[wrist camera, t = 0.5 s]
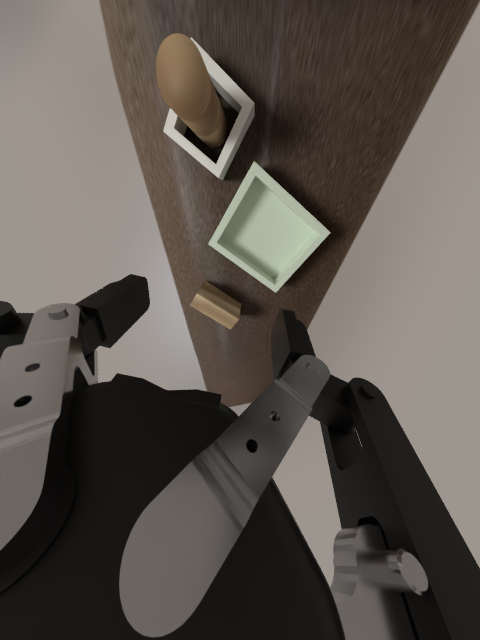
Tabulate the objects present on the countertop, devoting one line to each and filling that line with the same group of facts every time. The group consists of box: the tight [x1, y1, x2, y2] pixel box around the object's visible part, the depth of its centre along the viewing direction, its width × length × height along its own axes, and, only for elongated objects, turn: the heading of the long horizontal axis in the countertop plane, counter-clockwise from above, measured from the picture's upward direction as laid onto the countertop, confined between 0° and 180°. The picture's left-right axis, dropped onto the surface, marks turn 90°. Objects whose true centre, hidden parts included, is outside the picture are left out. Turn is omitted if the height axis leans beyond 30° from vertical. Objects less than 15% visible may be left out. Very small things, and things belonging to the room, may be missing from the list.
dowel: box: [156, 33, 228, 148], centre depth 19 cm, size 4×4×12 cm
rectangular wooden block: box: [190, 281, 241, 329], centre depth 36 cm, size 3×9×6 cm, turn 55°
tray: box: [209, 161, 331, 292], centre depth 29 cm, size 12×14×4 cm
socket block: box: [163, 37, 255, 180], centre depth 22 cm, size 8×8×4 cm
